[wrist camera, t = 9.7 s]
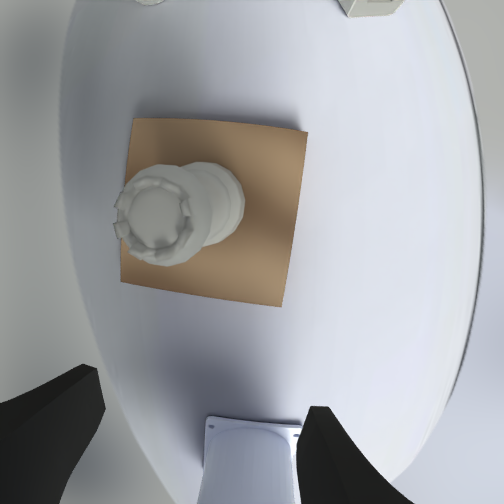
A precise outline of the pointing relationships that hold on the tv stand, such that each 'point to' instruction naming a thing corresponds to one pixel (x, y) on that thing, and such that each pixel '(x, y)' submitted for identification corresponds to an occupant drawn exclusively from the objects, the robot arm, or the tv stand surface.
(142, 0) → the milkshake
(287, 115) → the tv stand surface
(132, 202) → the rook chess piece
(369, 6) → the usb wall charger
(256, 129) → the walnut plinth
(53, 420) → the robot arm
